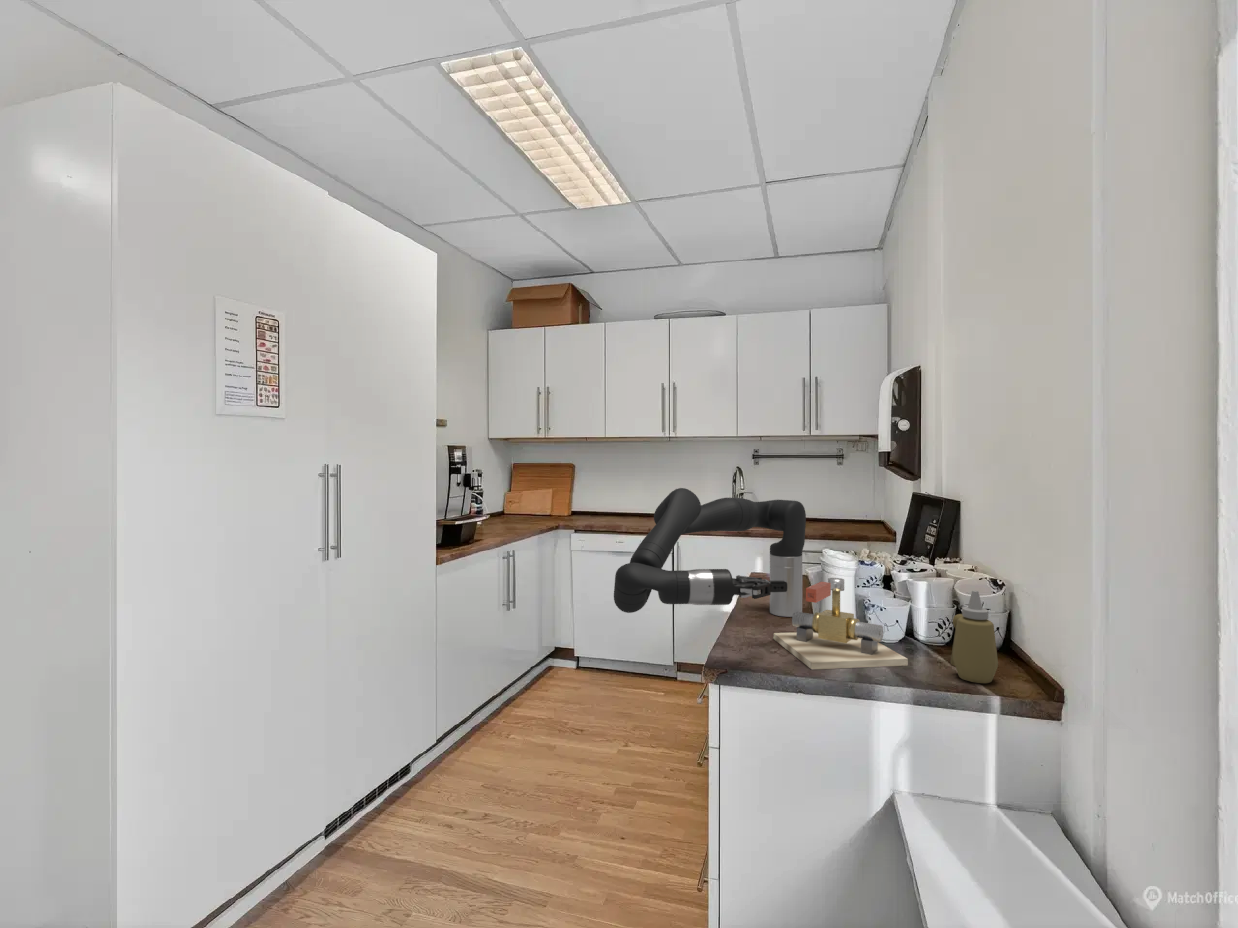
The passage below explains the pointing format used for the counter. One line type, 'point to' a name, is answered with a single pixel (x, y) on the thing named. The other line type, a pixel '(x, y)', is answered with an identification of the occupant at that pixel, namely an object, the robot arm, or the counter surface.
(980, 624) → the squeeze bottle
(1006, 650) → the counter surface
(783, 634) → the base board
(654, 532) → the robot arm
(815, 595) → the lever
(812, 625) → the valve and pipe
